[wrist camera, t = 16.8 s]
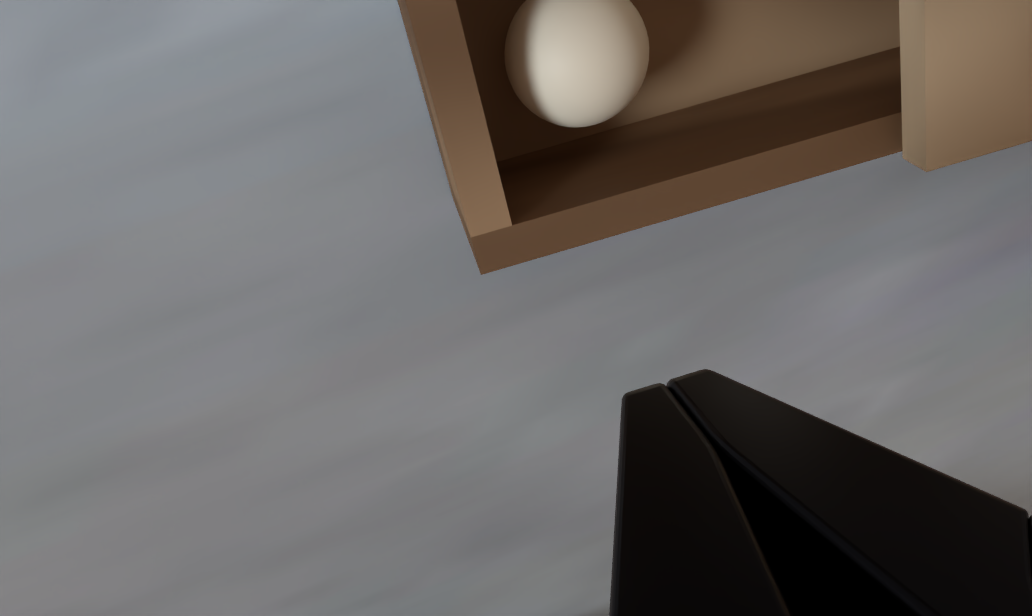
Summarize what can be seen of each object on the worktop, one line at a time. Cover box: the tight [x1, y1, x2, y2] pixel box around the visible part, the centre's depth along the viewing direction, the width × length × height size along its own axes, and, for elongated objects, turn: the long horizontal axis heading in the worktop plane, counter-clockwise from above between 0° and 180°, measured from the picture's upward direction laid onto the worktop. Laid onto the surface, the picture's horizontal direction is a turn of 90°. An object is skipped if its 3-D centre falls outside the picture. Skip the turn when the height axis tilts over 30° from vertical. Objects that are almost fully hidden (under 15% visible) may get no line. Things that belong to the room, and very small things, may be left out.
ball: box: [504, 0, 649, 127], centre depth 18 cm, size 3×3×3 cm
